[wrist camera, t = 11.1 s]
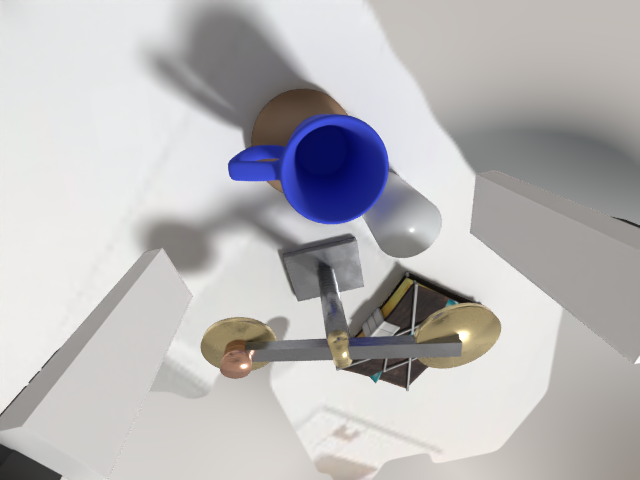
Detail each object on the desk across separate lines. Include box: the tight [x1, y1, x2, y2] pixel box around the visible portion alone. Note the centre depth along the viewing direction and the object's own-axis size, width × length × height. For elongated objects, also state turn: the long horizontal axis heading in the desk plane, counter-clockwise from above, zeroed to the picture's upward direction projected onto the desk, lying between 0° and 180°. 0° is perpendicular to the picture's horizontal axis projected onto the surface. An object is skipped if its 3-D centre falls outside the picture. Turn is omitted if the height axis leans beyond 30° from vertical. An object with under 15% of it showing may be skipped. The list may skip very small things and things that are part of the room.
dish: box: [252, 89, 347, 193], centre depth 28 cm, size 11×11×1 cm
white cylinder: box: [362, 172, 442, 258], centre depth 29 cm, size 6×6×9 cm
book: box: [336, 271, 482, 391], centre depth 44 cm, size 22×17×5 cm
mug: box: [228, 114, 389, 224], centre depth 24 cm, size 8×12×10 cm
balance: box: [201, 238, 501, 379], centre depth 31 cm, size 8×30×16 cm, turn 102°
